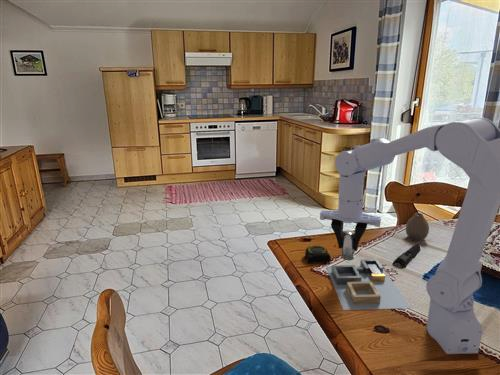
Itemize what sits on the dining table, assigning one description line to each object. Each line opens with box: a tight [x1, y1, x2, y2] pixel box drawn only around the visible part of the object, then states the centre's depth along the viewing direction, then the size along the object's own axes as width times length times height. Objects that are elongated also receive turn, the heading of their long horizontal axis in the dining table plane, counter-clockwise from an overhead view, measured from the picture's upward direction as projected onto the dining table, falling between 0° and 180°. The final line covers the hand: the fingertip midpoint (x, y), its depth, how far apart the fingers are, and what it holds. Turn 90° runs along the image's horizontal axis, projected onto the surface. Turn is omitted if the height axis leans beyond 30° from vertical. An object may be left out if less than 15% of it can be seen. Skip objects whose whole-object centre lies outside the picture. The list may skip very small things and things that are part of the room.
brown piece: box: [347, 281, 381, 304], centre depth 80 cm, size 6×6×2 cm
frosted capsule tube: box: [340, 229, 355, 261], centre depth 85 cm, size 3×3×7 cm
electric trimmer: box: [391, 243, 421, 269], centre depth 97 cm, size 4×15×3 cm, turn 134°
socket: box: [331, 258, 384, 285], centre depth 89 cm, size 9×13×2 cm
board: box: [325, 265, 412, 311], centre depth 85 cm, size 19×16×1 cm
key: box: [367, 264, 385, 282], centre depth 88 cm, size 6×3×2 cm, turn 179°
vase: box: [405, 212, 430, 242], centre depth 109 cm, size 7×7×9 cm
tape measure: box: [304, 245, 332, 264], centre depth 99 cm, size 7×7×4 cm
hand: (348, 247), depth 85 cm, fingers closed on frosted capsule tube, 3 cm apart
